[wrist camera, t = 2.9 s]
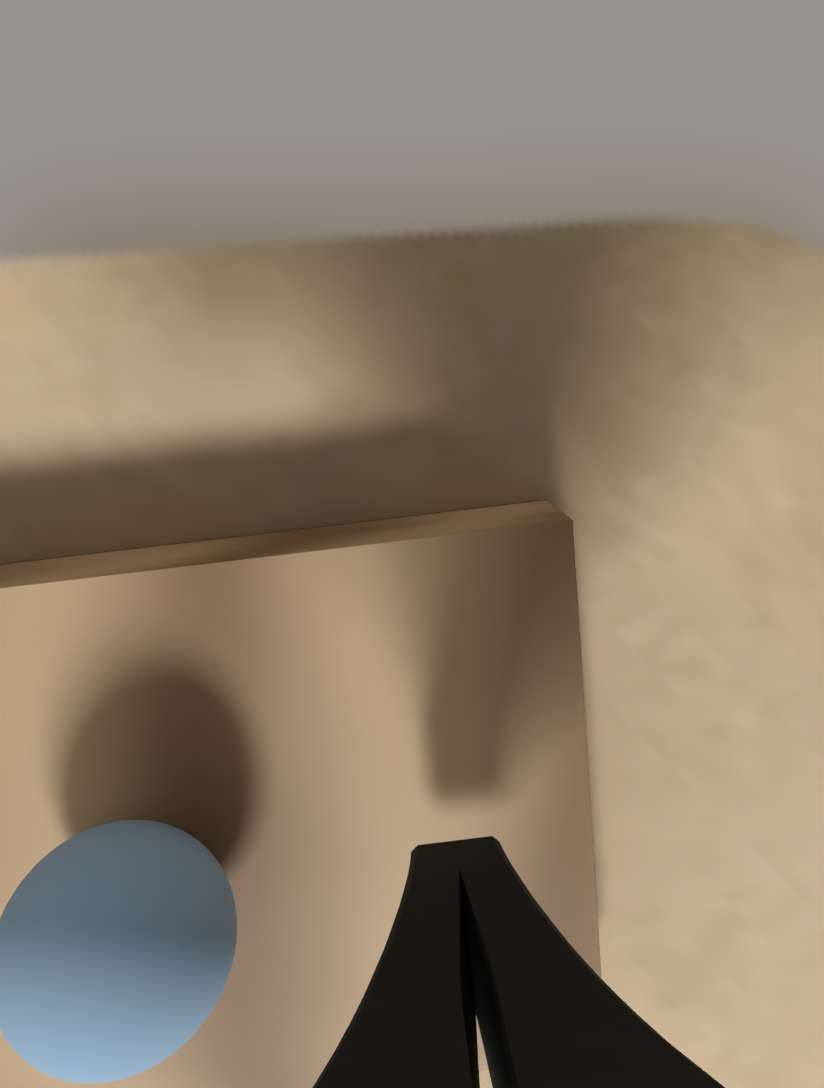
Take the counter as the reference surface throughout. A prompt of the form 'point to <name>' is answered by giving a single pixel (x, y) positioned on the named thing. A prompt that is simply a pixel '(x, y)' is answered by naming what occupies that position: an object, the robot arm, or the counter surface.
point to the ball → (114, 951)
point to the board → (304, 744)
